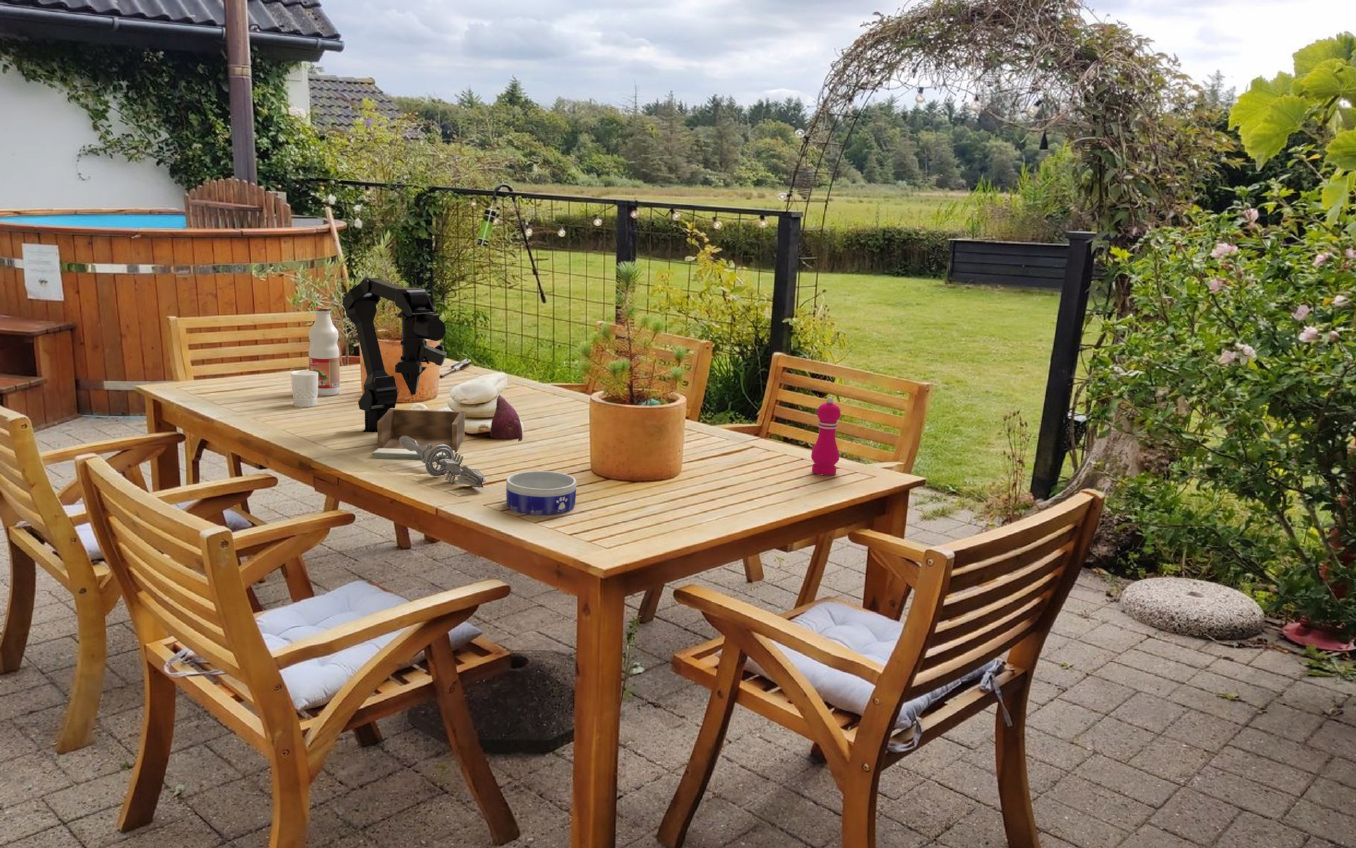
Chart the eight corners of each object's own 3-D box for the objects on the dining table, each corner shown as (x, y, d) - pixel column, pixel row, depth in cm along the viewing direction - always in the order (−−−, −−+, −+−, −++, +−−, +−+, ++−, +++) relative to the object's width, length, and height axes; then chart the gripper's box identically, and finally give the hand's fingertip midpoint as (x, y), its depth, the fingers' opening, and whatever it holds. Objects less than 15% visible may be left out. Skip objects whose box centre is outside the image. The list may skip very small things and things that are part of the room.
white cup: (324, 405, 317) (323, 373, 314) (303, 408, 310) (302, 376, 308) (307, 401, 321) (306, 369, 319) (286, 404, 314) (285, 372, 312)
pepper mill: (820, 477, 263) (826, 400, 258) (804, 470, 269) (810, 395, 264) (843, 475, 266) (850, 399, 262) (827, 468, 272) (833, 393, 268)
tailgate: (378, 452, 264) (372, 458, 256) (378, 448, 263) (372, 453, 256) (454, 455, 265) (450, 460, 258) (454, 450, 265) (450, 455, 258)
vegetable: (485, 448, 285) (471, 402, 283) (505, 438, 293) (492, 393, 290) (511, 446, 281) (498, 398, 278) (531, 435, 288) (518, 389, 286)
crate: (377, 452, 265) (377, 421, 263) (390, 437, 280) (389, 409, 278) (456, 454, 266) (456, 424, 265) (464, 440, 282) (464, 411, 280)
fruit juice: (344, 394, 333) (342, 308, 327) (315, 397, 328) (312, 309, 322) (334, 389, 340) (332, 305, 334) (305, 391, 335) (303, 305, 329)
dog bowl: (546, 492, 238) (546, 466, 237) (589, 507, 228) (590, 481, 226) (491, 503, 227) (492, 477, 226) (535, 520, 217) (536, 493, 216)
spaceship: (417, 427, 259) (392, 419, 253) (502, 471, 237) (476, 463, 231) (405, 456, 259) (380, 449, 253) (489, 503, 237) (463, 496, 231)
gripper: (438, 342, 262) (438, 402, 266) (449, 332, 280) (449, 389, 284) (394, 340, 261) (394, 401, 265) (407, 331, 280) (408, 387, 283)
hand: (413, 394), depth 274 cm, fingers closed
